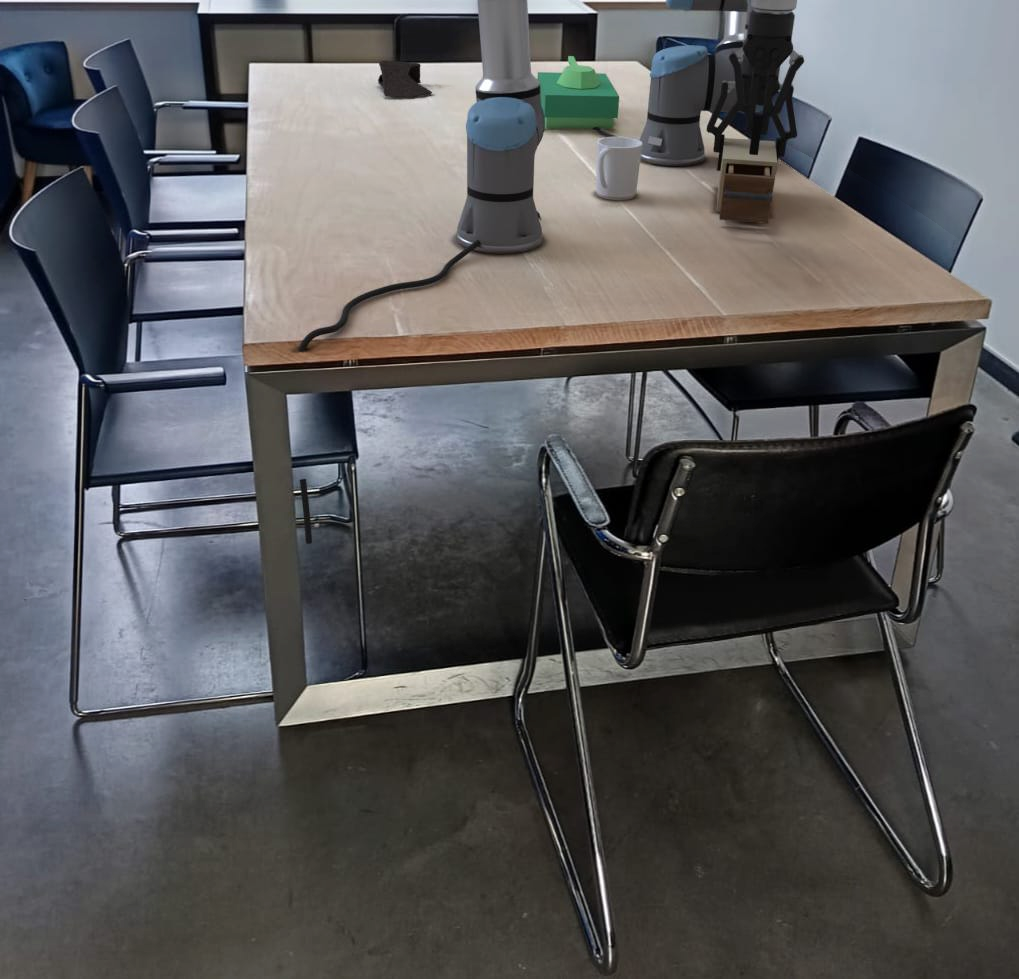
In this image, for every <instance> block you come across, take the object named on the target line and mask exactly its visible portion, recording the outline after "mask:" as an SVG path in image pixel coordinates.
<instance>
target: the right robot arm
mask: <svg viewBox="0 0 1019 979" xmlns="http://www.w3.org/2000/svg"><path fill="white" fill-rule="evenodd" d="M665 3H666V6H667V8H668V9H671V10H682V11H684V12H689V11H697V12H698V11H699V12H700V11H702V12H703V11H705V12H725V17H724V18H725V19H724V32H723V33H724V34H723V39H722V40H721V41H720V42H719V43H718V44H716V47H715V53H713V54H712V53H709V51H708V48H707V47H706V46H704V45H693V44H691V45H690V44H689V45H678V46H672V47H671V46H670V47H668V48H667V47H666V48H664V49H661V50H658V51H657V52H656V53H655V54H654V56H652V61H651V68H650V69H651V70H650V73H649V78H650V81H649V82H650V83H649V93H648V104H647V113H646V114H647V115H646V122H645V125H644V127H643V130H642V132H641V135H640V137H639V140H640V141H641V142H642V151H641V159H640V161H641V162H645V163H648V164H652V165H657V166H663V167H665V166H666V167H686V166H693V165H698V164H700V163H702V162H704V160H705V152H706V151H705V146H704V139H703V135H702V129H701V113H702V112H712V114H711V116H710V117H709V120H708V122H707V125H706V132H707V133H708V134H712V135H713V136H714V141H713V153H717V154H718V156H717V164H716V171H718V172H720V171H721V163H722V155H723V146H724V139H725V138H726V134H723V133H724V132H725V130H726V129H727V128H728V127H729V125H730V124H731V122H732V121H733V120H734V119H735V117H736V115H737V114H738V113H742V114H745V113H744V112H741V111H739V109H738V102H737V93H736V84H735V75H734V68H733V66H732V64H731V62H730V60H729V54H730V52H732V51H736V50H738V49H740V48H741V47H742V46H743V42H744V41H745V39H746V37H747V30H748V22H749V14H750V12H751V11H752V10H754V8H752V7H751V0H665ZM740 64H741V70H742V79H743V89H744V98H745V104H748V105H749V99H750V91H751V84H752V76H753V68H754V67H752V66H751V64H750V62H749V60H748V58H747V57H746V55H745V53H744V54H743V61H742V62H741V63H740ZM780 70H781V66H780V67H779V68H777V69H776V76H775V83H774V90H773V97H774V96H775V95H777V93H778V92H780V90H781V87H782V84H783V83H780V80H779V78H780ZM767 77H768V69H761V74H760V81H759V88H758V95H757V103H756V110H755V113H761V112H763V107H764V99H765V92H766V84H767ZM794 90H795V88H794V84H793V83H792V84H791V87H790V89H789V92H788V95H787V97H786V100H785V105H786V106H785V107H786V112H787V119H788V126H789V130H787V131H786V129H785V126H784V124H783V122H782V119H781V117H780V113H779V114H773V115H771V116H770V118H771V119H772V121H773V123H774V126H775V128H776V130H777V133H778V135H779V137H776V138H775V146H776V154H777V165H778V164H779V158H784V157H785V155H786V150H787V149H786V147H787V143H788V141H789V140H790V139H795V138H797V137H798V130H797V124H796V116H795V112H794V111H795V110H794V104H793V95H794ZM773 97H772V104H771V106H773V105H775V102H774V100H773ZM721 113H726V115H725V116H724V118H723V119H722V120H721V122H720V123H719V124H718V126H716V124H717V121H718V119H719V116H720V114H721ZM592 130H593V131H595V132H596V133H597V134H599V135H602V136H603V137H619V136H618V135H615V134H611V133H609V132H607V131H605V130H604V129H600V128H598V127H595V128H593V129H592ZM777 170H778V168H777V169H776V172H777Z"/></svg>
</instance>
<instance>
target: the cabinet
mask: <svg viewBox="0 0 1019 979" xmlns="http://www.w3.org/2000/svg"><path fill="white" fill-rule="evenodd" d="M750 141H751V139H746V138H745V139H743V138H728V137H725V139H724V146H723V155H722V163H721V171H719V176H718V184H717V195H716V196H717V197H716V212H718V213H720V210H721V202H722V194H723V186H724V178H725V173H727V172H728V164H729V163H732V164H746V165H761V166H769V169H770V176H771V177H775V178H776V175H777V171H776V169H777V170H778V164H777V154H776V146H775V145H776V140H775V141H774V140H761V139H760V143H759V150H758V155H749V149H750ZM775 181H776V179H775V180H774V184H775ZM774 189H775V185H774V186H773V190H774ZM772 195H773V196H774V192H773V193H772ZM772 203H773V201H772V202H771V204H772ZM771 209H772V206H771V207H770V211H772V210H771ZM770 215H771V213H770V214H769V216H770Z"/></svg>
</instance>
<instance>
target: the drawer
mask: <svg viewBox="0 0 1019 979" xmlns="http://www.w3.org/2000/svg"><path fill="white" fill-rule="evenodd" d="M774 180H775V181H776V176H775V177H771V176H770V169H769V166H761V165H746V164H732V163H729V164H728V172H727V173H725V178H724V186H723V194H722V202H721V210H720V212H719V220H721V221H734V222H745V223H747V222H748V223H760V224H761V223H762V224H769V221H770V215H771V210H770V207H771V208H772V203H773V201H774V189H773V186H774V187H775V183H774ZM772 193H773V195H772ZM771 202H772V203H771ZM769 214H770V215H769Z"/></svg>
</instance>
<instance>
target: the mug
mask: <svg viewBox="0 0 1019 979" xmlns="http://www.w3.org/2000/svg"><path fill="white" fill-rule="evenodd" d="M641 151H642V142H641V141H640V139H638V138H633V137H629V136H628V137H627V136H618V137H606V136H604V137H600V138H598V139H597V140H596V181H595V182H596V183H595V192H596V195H597V196H598V197H600V198H603V199H606V200H611V201H613V200H614V201H624V200H630V199H633V198H635V197H636V196H637V190H638V189H637V188H638V182H639V174H640V165H641V160H640V159H641Z"/></svg>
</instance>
